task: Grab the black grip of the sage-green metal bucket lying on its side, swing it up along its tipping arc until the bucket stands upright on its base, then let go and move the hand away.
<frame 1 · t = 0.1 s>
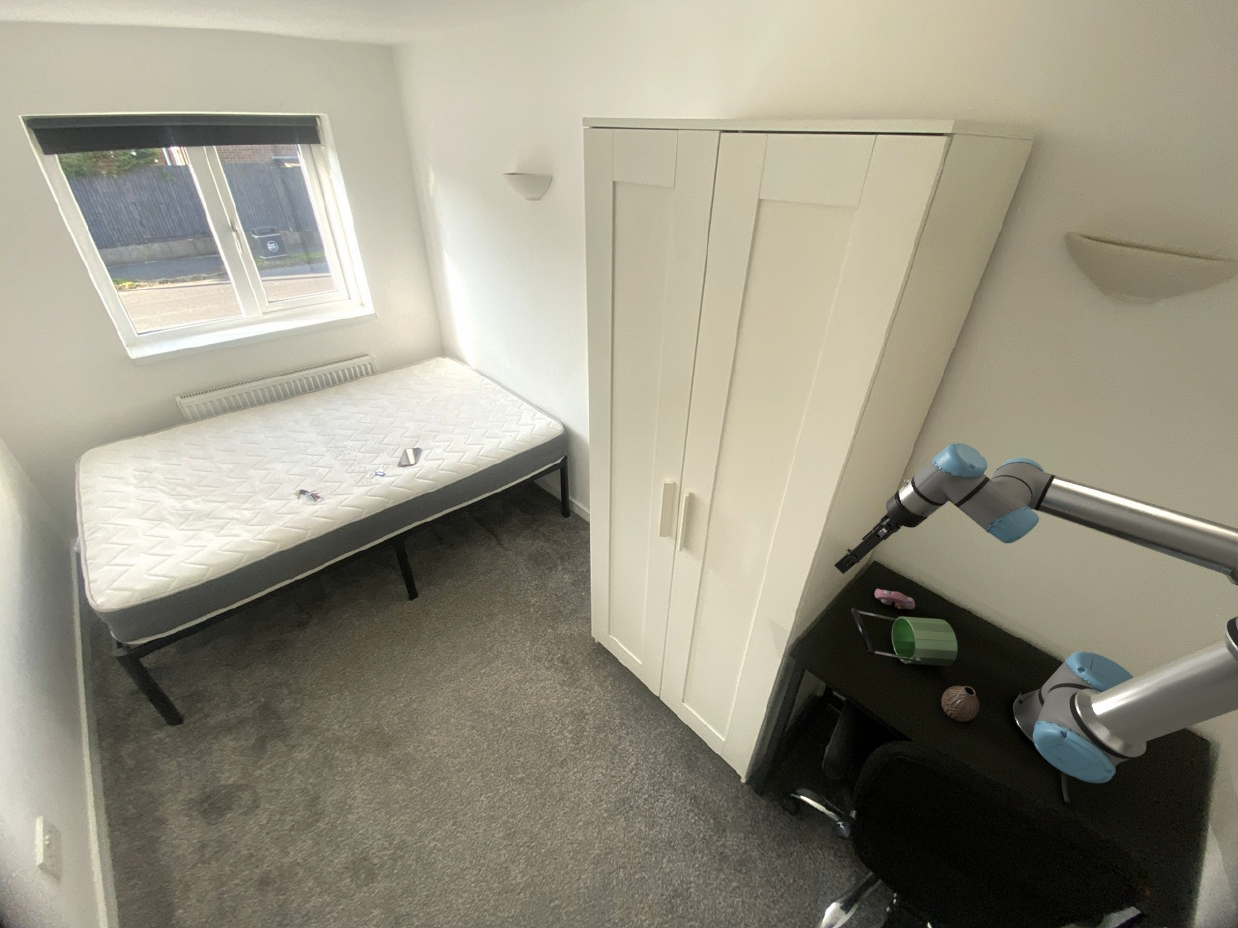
hand: (853, 555, 119), 28 cm above the table, tool tilted 20°, fingers open, 13 cm apart
vase: (953, 712, 117), on the table
bucket: (899, 639, 126), point 6 cm above the table, hinge at 89.1°
video game controller: (891, 605, 143), on the table
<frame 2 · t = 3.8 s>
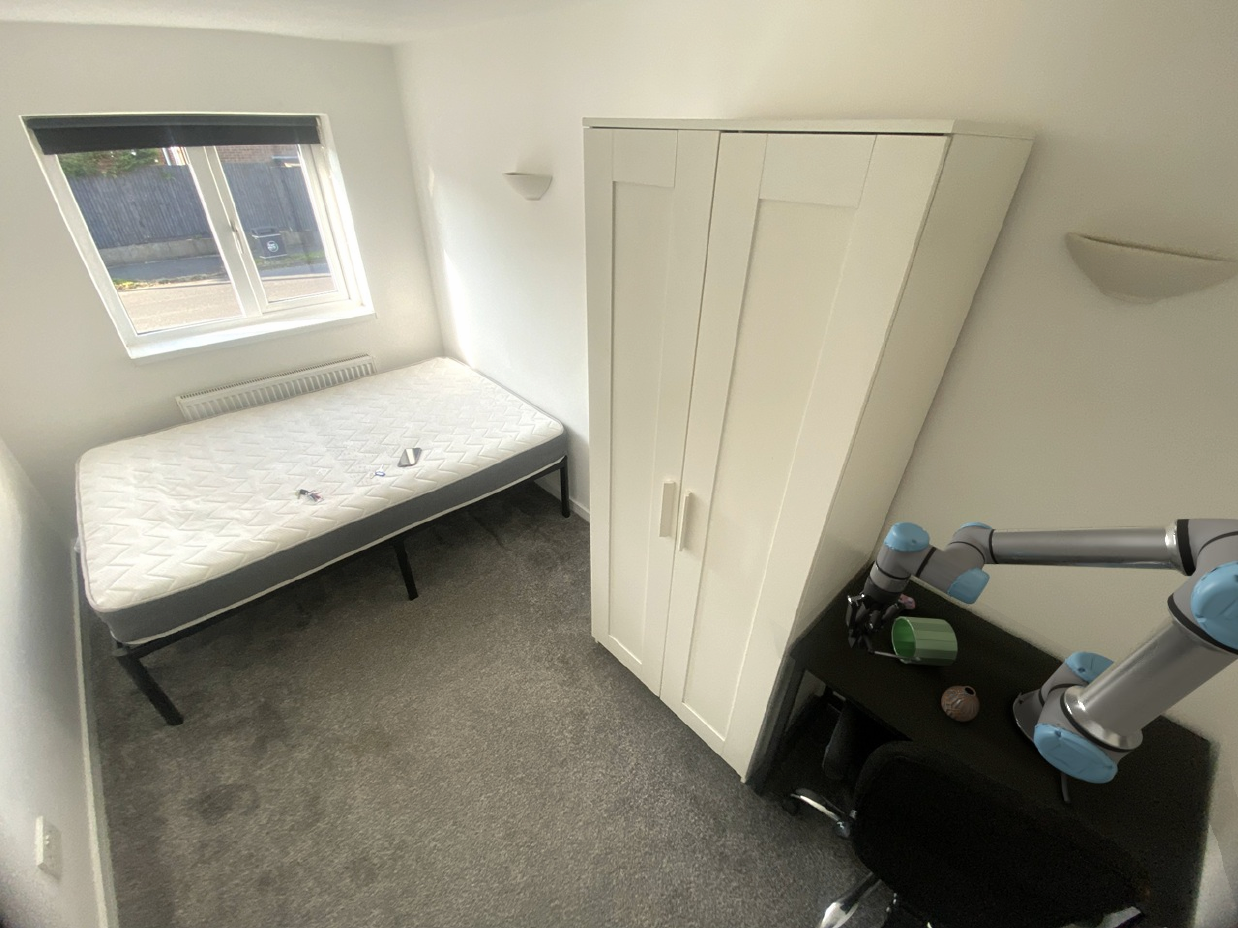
hand: (855, 643, 128), 3 cm above the table, tool pointing down, fingers closed on bucket, 2 cm apart
bucket: (899, 639, 126), point 6 cm above the table, hinge at 89.0°, touching gripper
everything else where it was.
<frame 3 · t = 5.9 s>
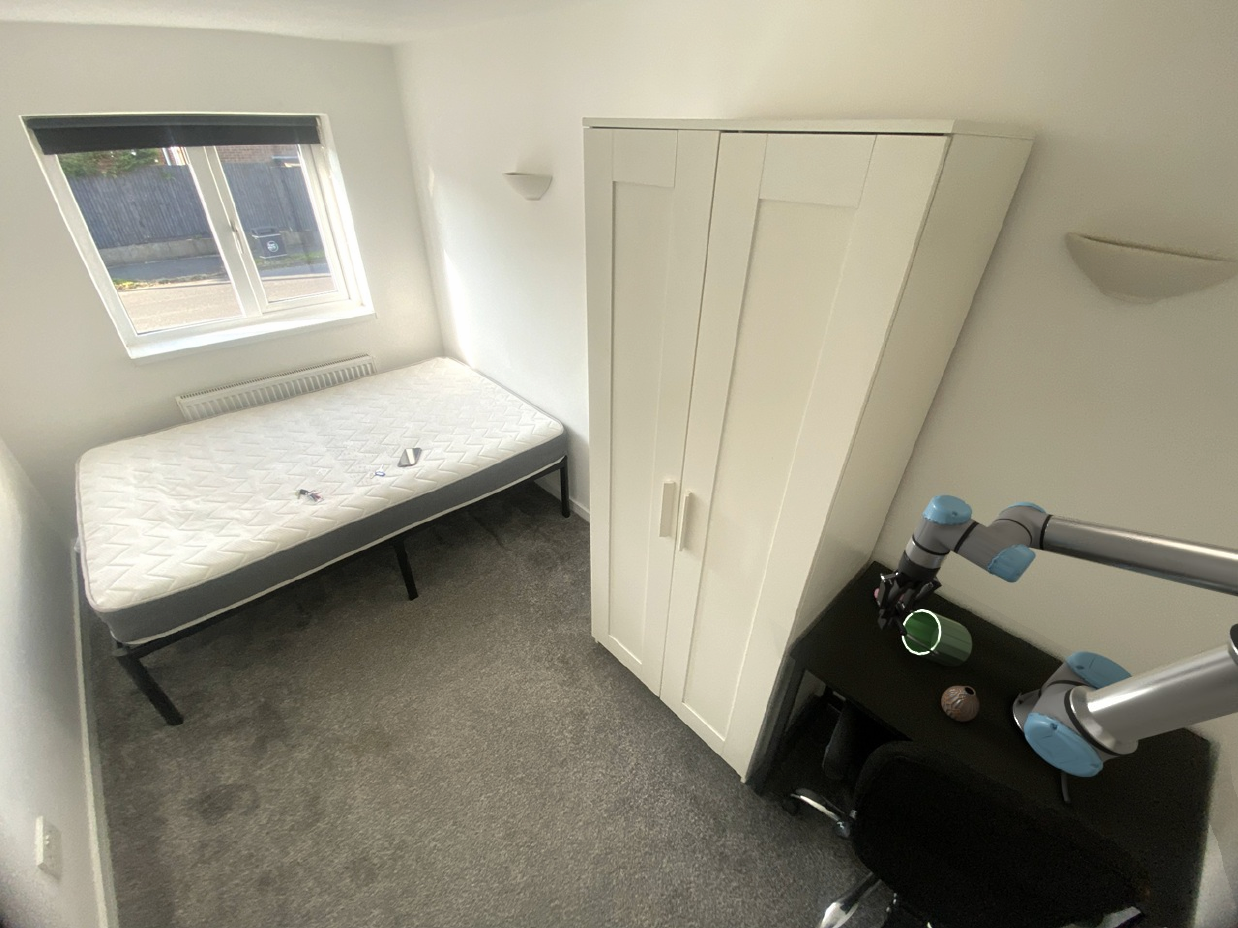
hand: (885, 625, 124), 11 cm above the table, tool pointing down, fingers closed on bucket, 2 cm apart
bucket: (917, 630, 124), point 10 cm above the table, hinge at 65.8°, touching gripper
everything else where it was.
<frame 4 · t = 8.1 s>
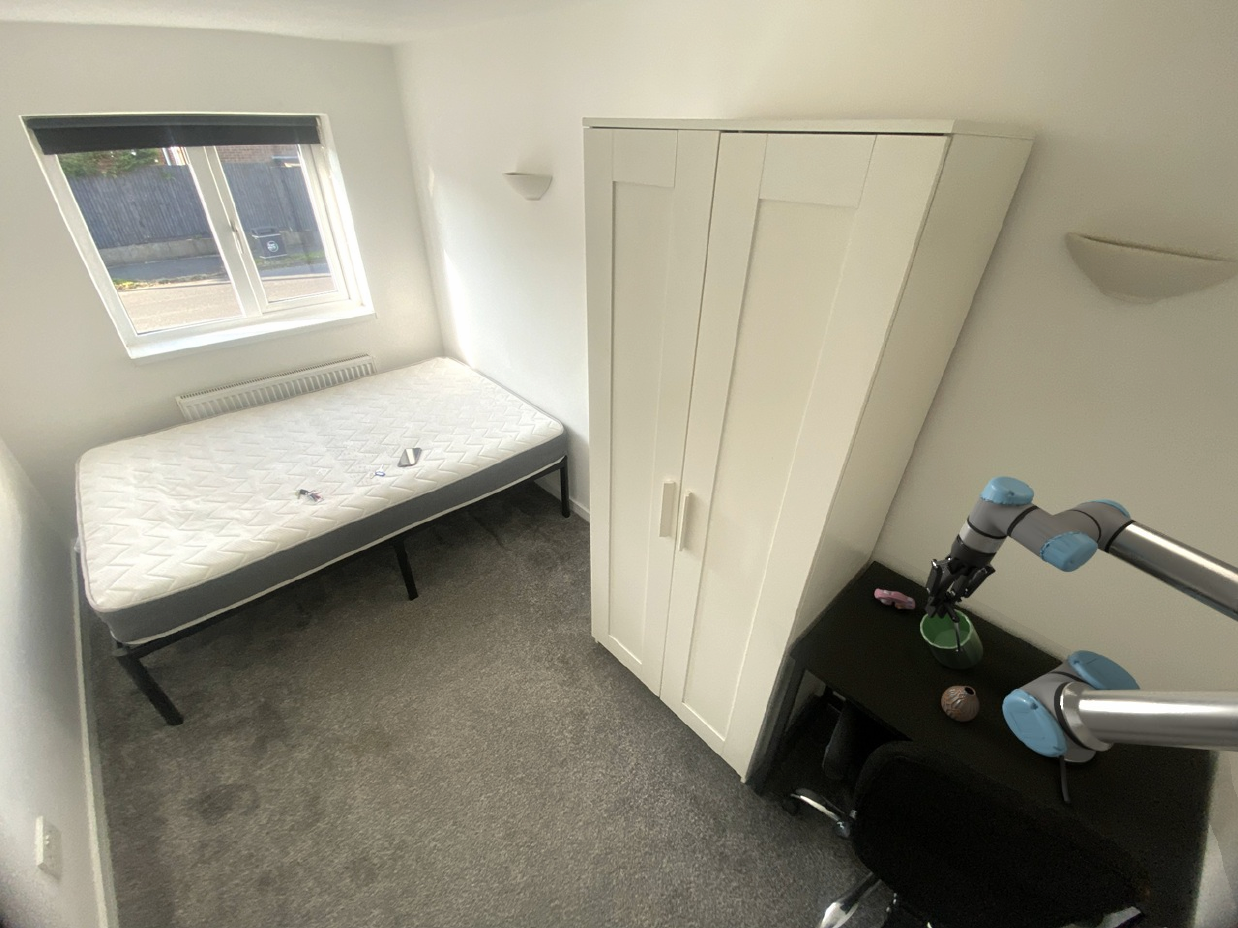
hand: (933, 613, 120), 16 cm above the table, tool pointing down, fingers closed on bucket, 2 cm apart
bucket: (944, 625, 122), point 12 cm above the table, hinge at 37.1°, touching gripper
everything else where it was.
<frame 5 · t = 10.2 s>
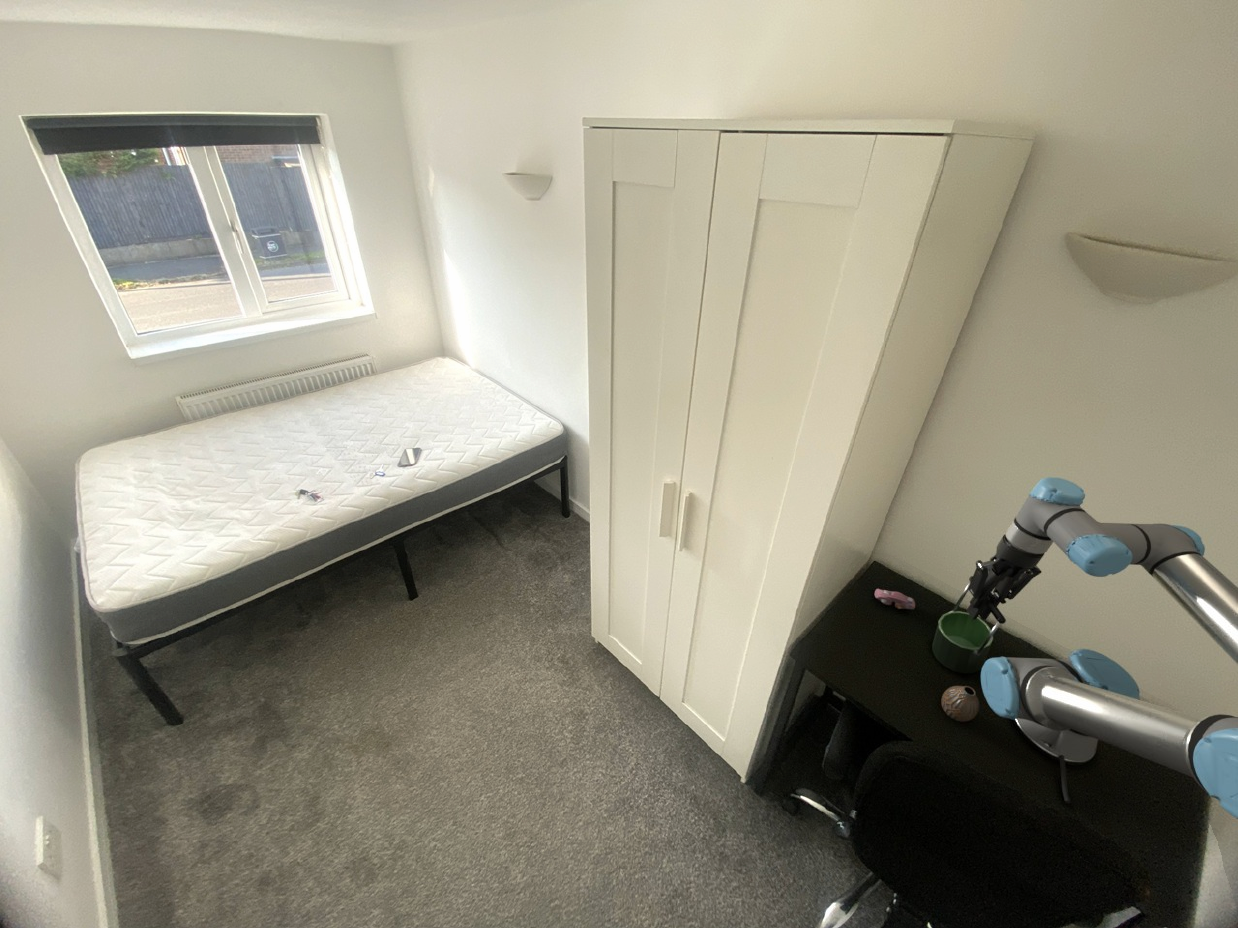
hand: (976, 614, 120), 16 cm above the table, tool pointing down, fingers closed on bucket, 2 cm apart
bucket: (966, 626, 122), point 12 cm above the table, hinge at 12.1°, touching gripper
everything else where it was.
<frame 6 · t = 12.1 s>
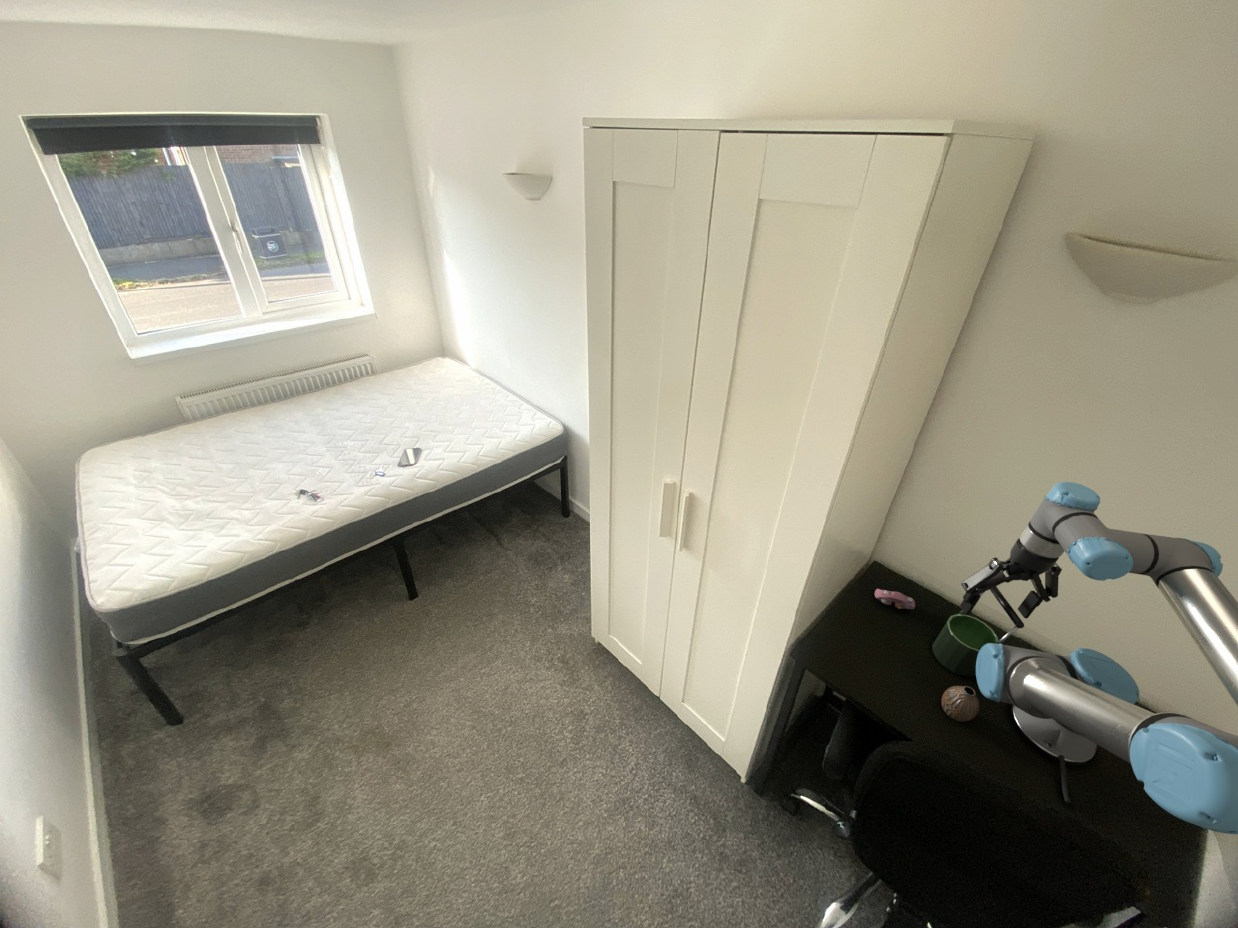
hand: (993, 612, 119), 18 cm above the table, tool pointing down, fingers open, 13 cm apart
bucket: (974, 629, 123), point 11 cm above the table, hinge at -0.1°
everything else where it was.
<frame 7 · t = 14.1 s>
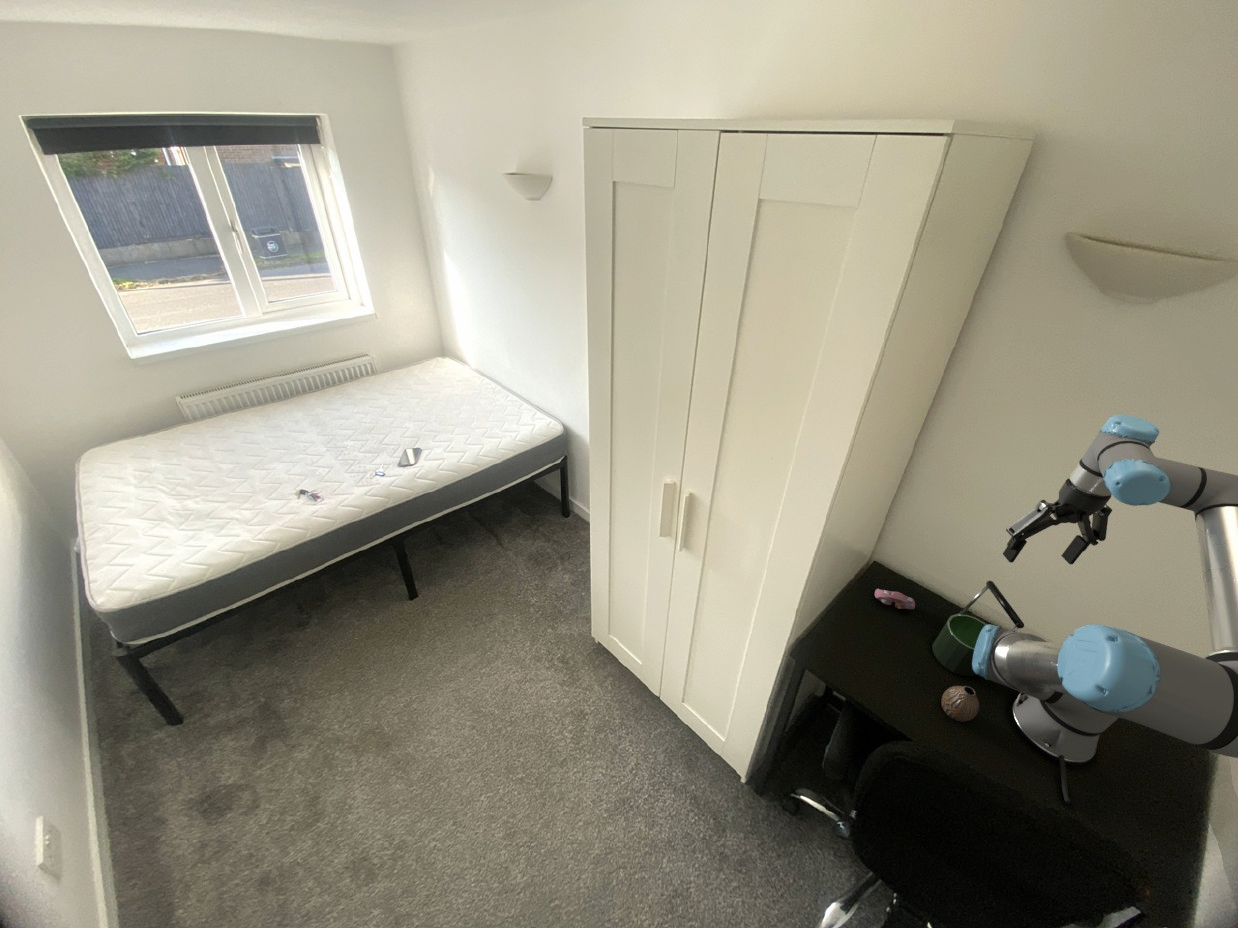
hand: (1037, 559, 116), 31 cm above the table, tool pointing down, fingers open, 13 cm apart
bucket: (974, 629, 123), point 11 cm above the table, hinge at -0.1°, touching arm
everything else where it was.
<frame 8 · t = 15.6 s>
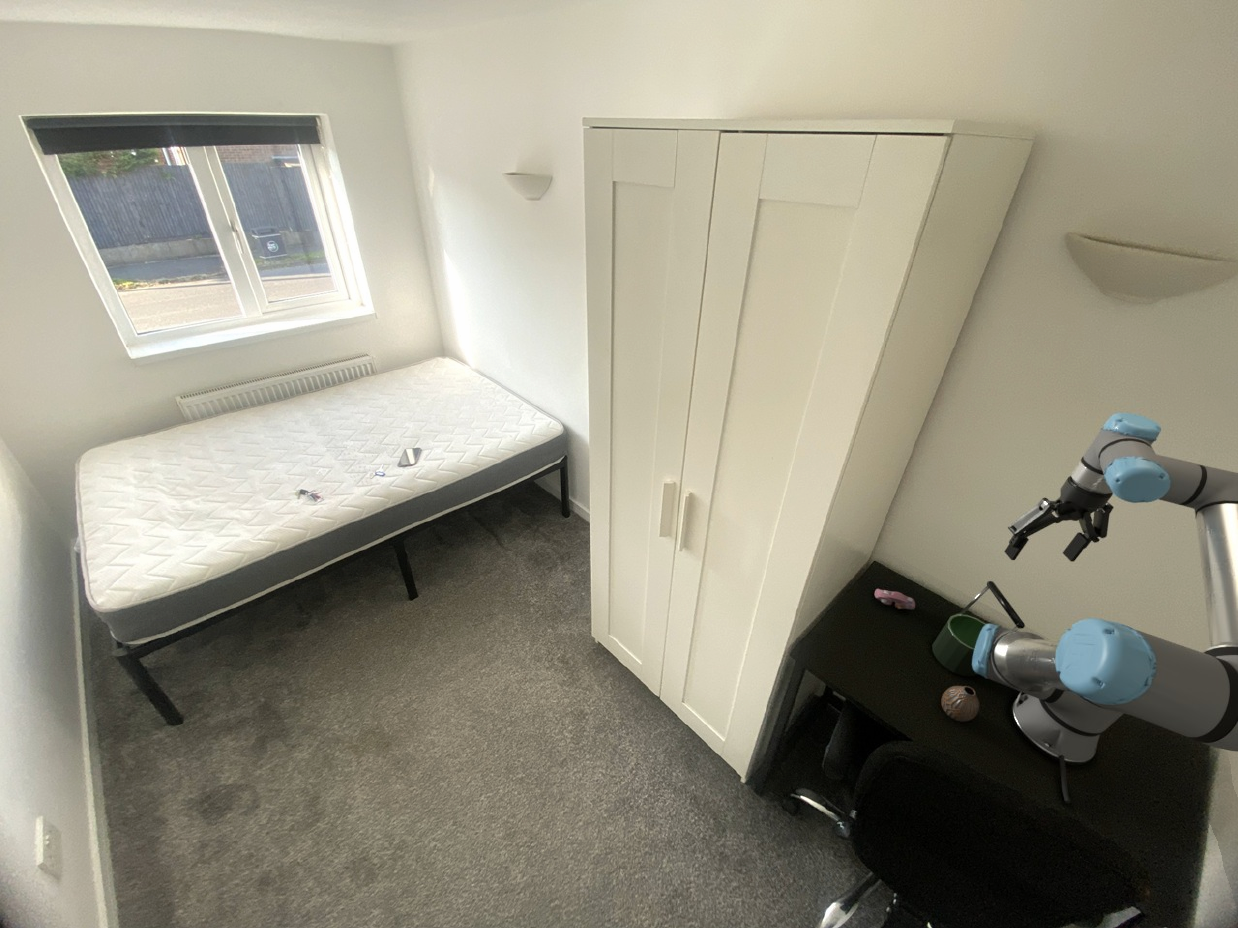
hand: (1038, 556, 116), 31 cm above the table, tool pointing down, fingers open, 13 cm apart
bucket: (974, 630, 123), point 11 cm above the table, hinge at -0.5°, touching arm
everything else where it was.
at the end: bucket at +0° (first picture: +89°); bucket tilted 1°; the gripper is holding nothing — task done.
